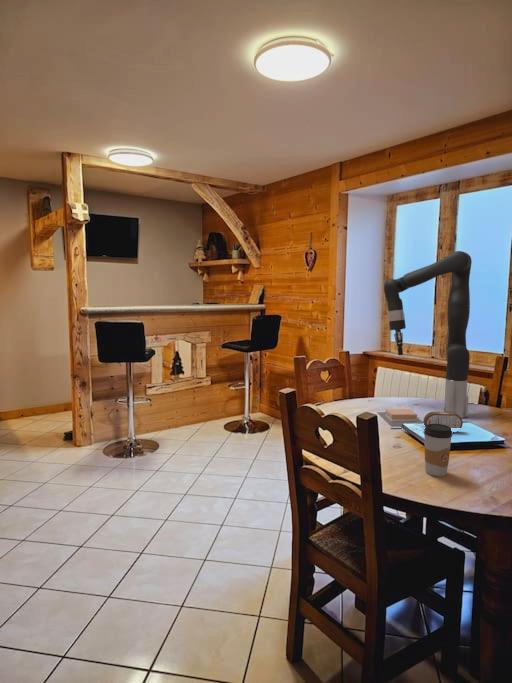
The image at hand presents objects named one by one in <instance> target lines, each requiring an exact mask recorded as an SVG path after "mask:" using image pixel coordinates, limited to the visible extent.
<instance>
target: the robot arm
mask: <svg viewBox="0 0 512 683" xmlns="http://www.w3.org/2000/svg"><path fill="white" fill-rule="evenodd" d="M471 268H472V257H471V256H470V254H469V253H467V252H465V251H463V250H462V251H461V250H457V251H454V252H452V253H450V254H449V255H447V256H445V257H442V259H440V260H438V261H436V262H434V263H432V264H428V265H427V266H424V267H421V268H418V269H416V270H413V271H411V272H410V271H409V272H407V273H405V274H403V276H401V277H398V278H395V279H394V278H391V279H389V278H388V279H387V280H386V281H385V282H384V284H383V293H384V296H385V300H386V302H387V312H388V314H387V316H388V325H389V330H390V331H395V333H393V337H394V340H395V344H396V349H397V355H398V356H403V355H404V351H403V350H404V349H403V345H404V344H403V342H404V338H403V336H404V334H403V332H402V331H401V330H405V329H406V318H405V313H404V311H405V310H404V304H403V300H402V298H401V297H400V293H403V292H405V291H407V290H408V289H410V288H414V287H417V286H419V285H422V284H424V283H426V282H428V281H430V280H431V281H432V279H435V278H438V277H439V276H442V275H445V274H449V273H451V286H450V291H449V294H448V297H447V298H448V299H447V327H448V328H447V329H448V339H447V347H446V353H445V355H446V359H447V360H446V373H445V385H444V386H445V387H444V388H445V389H444V403H443V404H444V406H443V407H444V408H443V412H454V413H457V414H458V415H459V416H460V417H461V419H463V418H468V417H469V416H468V415H469V414H468V413H469V396H467V395H468V378H469V373H470V359H471V357H470V356H471V354H470V351H469V350H468V348H467V337H466V336H467V330H468V326H469V325H468V324H469V321H470V320H469V319H470V311H471V310H470V308H471V307H470V306H471V304H470V303H471V299H470V298H471V296H470V295H471V294H470V278H471V277H470V275H471Z"/></svg>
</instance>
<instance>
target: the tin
mask: <svg viewBox="0 0 512 683" xmlns="http://www.w3.org/2000/svg"><path fill="white" fill-rule="evenodd" d="M423 422H424V425H425V426H424V428H426V425H427V424H442V425H446V426H449V427H450V428H461V429H462V427H463V426H464V425H463V424H464V421H463V418H461V417H460V416H459V415H458V414H457V413H454V412H444V411H431V412H427V414H426V415H424V417H423Z"/></svg>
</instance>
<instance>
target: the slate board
mask: <svg viewBox="0 0 512 683" xmlns="http://www.w3.org/2000/svg"><path fill="white" fill-rule="evenodd" d="M385 412H386V411H385ZM385 412H382V411H381V412H380V411H376V413H377V414H378V415H379V416H380V418H382V419H383V421H385V423H387V425H389V426H390V430H403V429H402V428H404V427H403V426H402V424H403V423H424V420H422V419H420V418H419V417H418V416H417V421H391V420H390V419H389V418H388V417H386V416H385Z"/></svg>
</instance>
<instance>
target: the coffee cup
mask: <svg viewBox="0 0 512 683" xmlns="http://www.w3.org/2000/svg"><path fill="white" fill-rule="evenodd" d="M424 428H425V429H423V430H424V431H423V434H424V463H425V464H424V465H425V466H424V467H425V468H424V470H425V472H426V474H428V475H430V476H431V477H432V476H433V477H445V476H446V475H447V473H448V468H449V462H450V454H451V443H452V437H453V433H452V431H451V428H450V427H449V426H446V425H442V424H427V425H426V427H424Z"/></svg>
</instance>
